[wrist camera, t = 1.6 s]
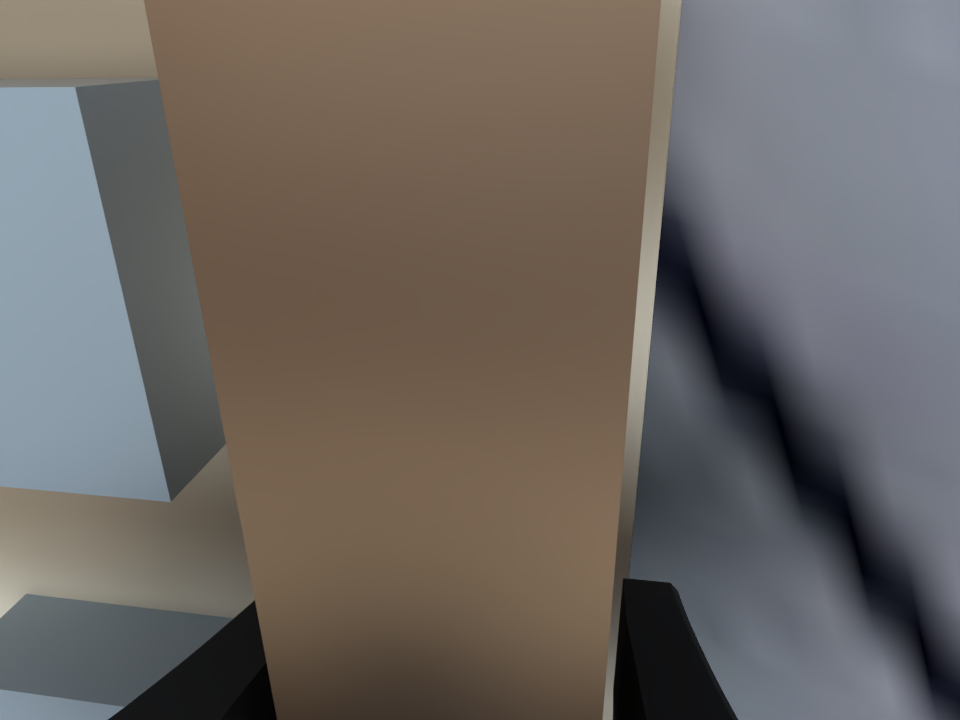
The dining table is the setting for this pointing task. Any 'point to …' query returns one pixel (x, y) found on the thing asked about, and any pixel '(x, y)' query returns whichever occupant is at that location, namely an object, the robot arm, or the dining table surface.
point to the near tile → (98, 296)
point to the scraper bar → (419, 332)
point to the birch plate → (210, 494)
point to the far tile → (89, 655)
